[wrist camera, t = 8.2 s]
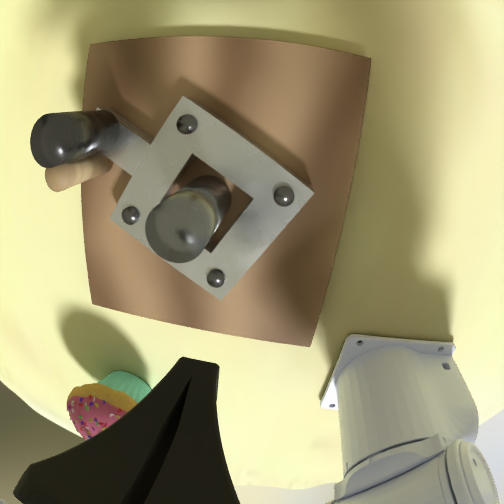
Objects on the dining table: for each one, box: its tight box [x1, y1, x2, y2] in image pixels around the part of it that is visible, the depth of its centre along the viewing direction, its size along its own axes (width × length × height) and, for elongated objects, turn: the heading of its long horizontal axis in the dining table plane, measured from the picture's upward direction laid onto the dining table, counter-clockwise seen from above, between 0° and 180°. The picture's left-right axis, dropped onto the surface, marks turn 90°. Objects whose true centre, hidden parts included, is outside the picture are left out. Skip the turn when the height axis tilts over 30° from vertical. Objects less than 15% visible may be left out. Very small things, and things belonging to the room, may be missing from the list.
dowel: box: [45, 153, 113, 192], centre depth 15 cm, size 2×2×4 cm
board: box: [81, 36, 371, 347], centre depth 18 cm, size 16×18×1 cm
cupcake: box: [67, 371, 151, 440], centre depth 21 cm, size 9×8×12 cm
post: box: [145, 175, 231, 263], centre depth 15 cm, size 3×3×6 cm
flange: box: [30, 96, 314, 301], centre depth 14 cm, size 12×8×6 cm, turn 53°
